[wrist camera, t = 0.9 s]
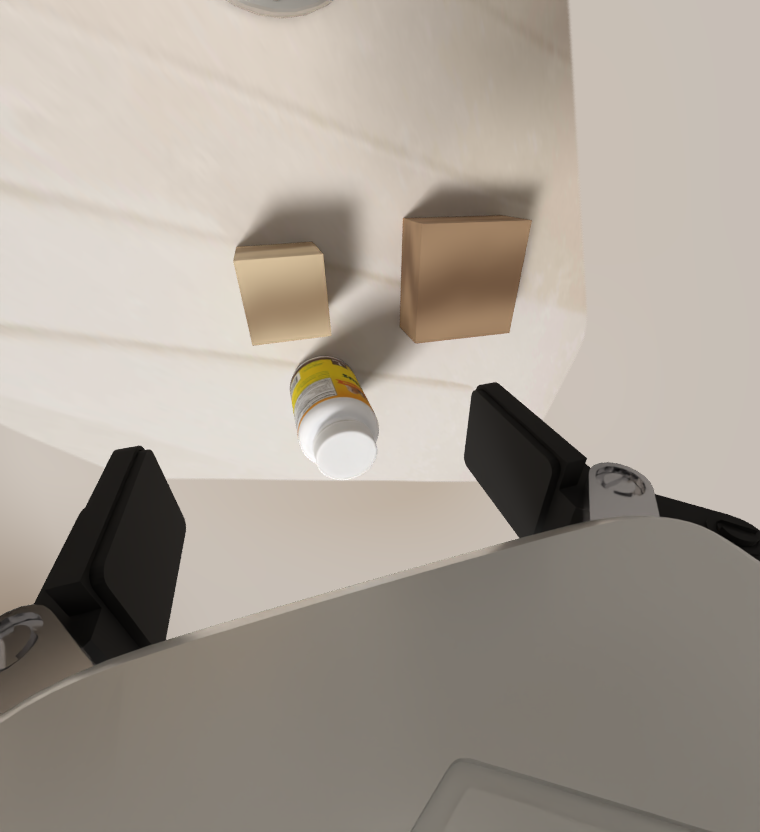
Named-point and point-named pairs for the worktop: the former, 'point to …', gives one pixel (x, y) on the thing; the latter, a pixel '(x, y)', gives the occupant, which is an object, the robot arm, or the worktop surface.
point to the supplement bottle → (333, 418)
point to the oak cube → (283, 291)
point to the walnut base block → (460, 275)
